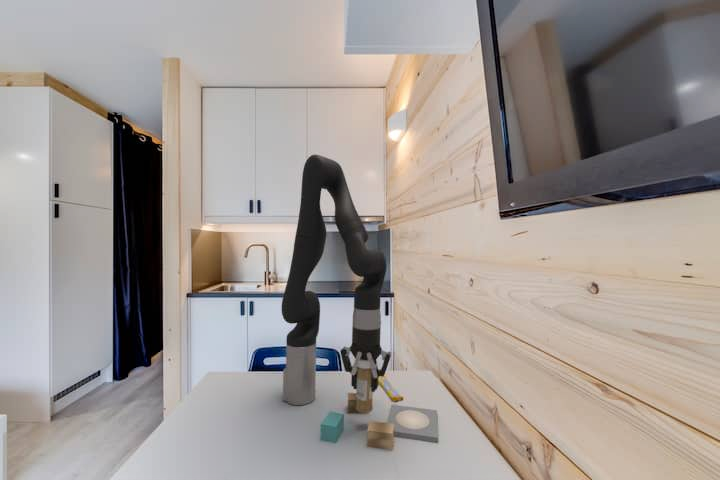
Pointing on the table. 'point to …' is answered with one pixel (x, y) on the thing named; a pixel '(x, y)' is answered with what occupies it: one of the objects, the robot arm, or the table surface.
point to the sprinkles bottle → (364, 387)
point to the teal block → (332, 427)
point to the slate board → (414, 423)
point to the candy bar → (389, 389)
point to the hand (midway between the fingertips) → (364, 388)
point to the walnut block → (352, 403)
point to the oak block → (380, 435)
